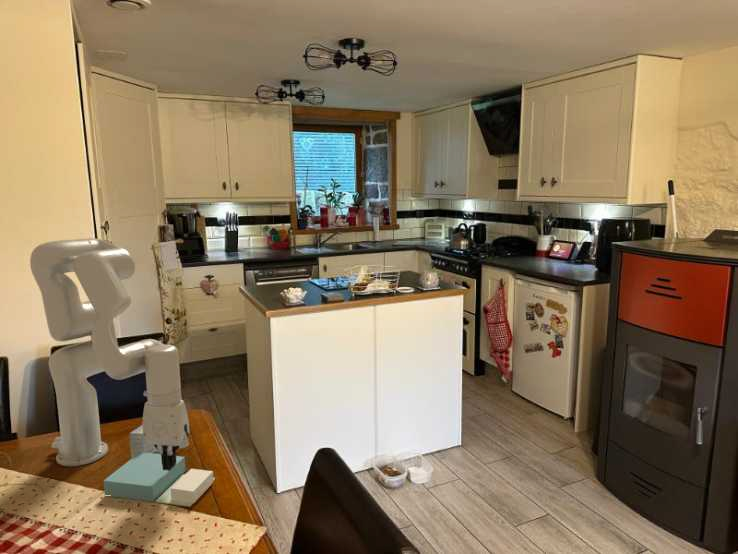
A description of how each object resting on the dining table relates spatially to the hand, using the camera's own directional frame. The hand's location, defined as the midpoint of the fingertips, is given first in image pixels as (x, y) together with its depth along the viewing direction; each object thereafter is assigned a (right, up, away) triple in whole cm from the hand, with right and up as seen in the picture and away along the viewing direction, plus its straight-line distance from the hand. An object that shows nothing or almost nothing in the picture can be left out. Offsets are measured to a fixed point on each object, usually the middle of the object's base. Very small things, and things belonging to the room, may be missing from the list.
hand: (169, 467), depth 126 cm
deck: (-7, -5, +3) cm, 9 cm away
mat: (+4, -6, 0) cm, 7 cm away
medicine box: (-13, -3, +16) cm, 21 cm away
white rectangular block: (+6, -3, -1) cm, 7 cm away
